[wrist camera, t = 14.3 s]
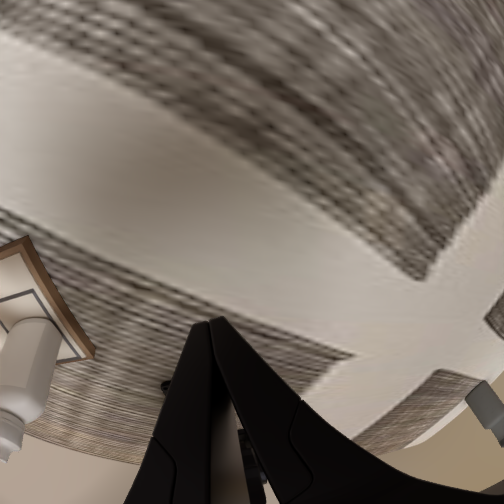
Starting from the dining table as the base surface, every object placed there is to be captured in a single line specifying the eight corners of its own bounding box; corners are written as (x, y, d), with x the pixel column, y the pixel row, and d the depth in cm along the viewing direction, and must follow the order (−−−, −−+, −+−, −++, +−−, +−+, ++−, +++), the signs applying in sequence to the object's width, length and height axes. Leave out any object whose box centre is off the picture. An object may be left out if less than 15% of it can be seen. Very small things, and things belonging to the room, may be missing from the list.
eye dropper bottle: (3, 307, 18) (-45, 433, 8) (61, 319, 20) (28, 461, 10) (14, 343, 20) (-18, 459, 10) (67, 355, 22) (48, 481, 12)
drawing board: (95, 348, 24) (93, 360, 23) (15, 362, 22) (12, 373, 21) (28, 235, 17) (20, 245, 16) (-50, 270, 16) (-57, 280, 15)
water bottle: (488, 378, 72) (527, 432, 49) (470, 397, 76) (506, 451, 53) (480, 381, 68) (522, 440, 45) (460, 401, 72) (499, 460, 49)
